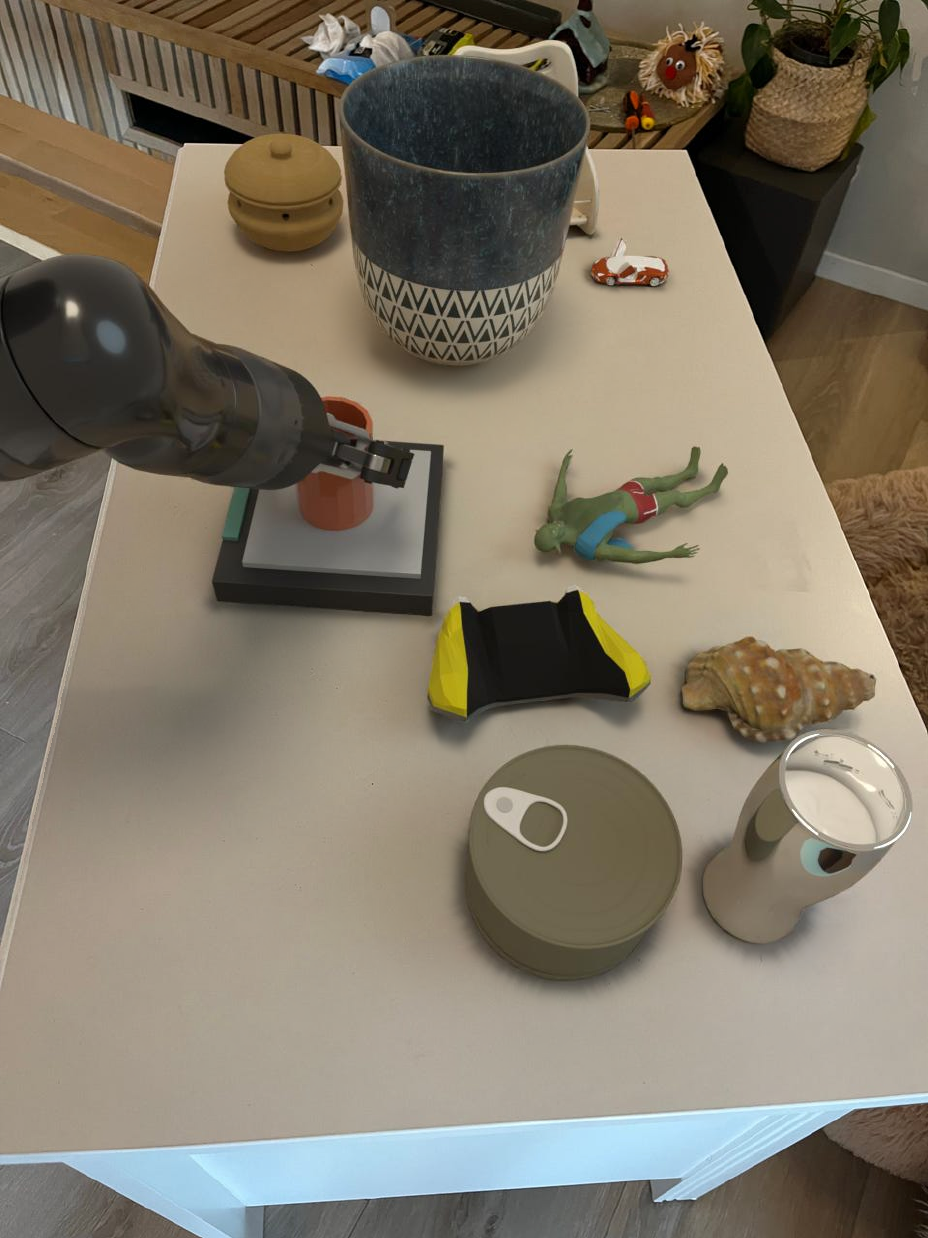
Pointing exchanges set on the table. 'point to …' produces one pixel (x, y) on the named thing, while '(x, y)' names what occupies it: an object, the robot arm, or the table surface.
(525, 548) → the table surface
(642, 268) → the toy car
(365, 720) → the table surface
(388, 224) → the planter
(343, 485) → the cup
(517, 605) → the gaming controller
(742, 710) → the seashell
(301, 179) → the pot
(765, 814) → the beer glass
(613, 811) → the can
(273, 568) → the scale
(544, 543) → the figurine
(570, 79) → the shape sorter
